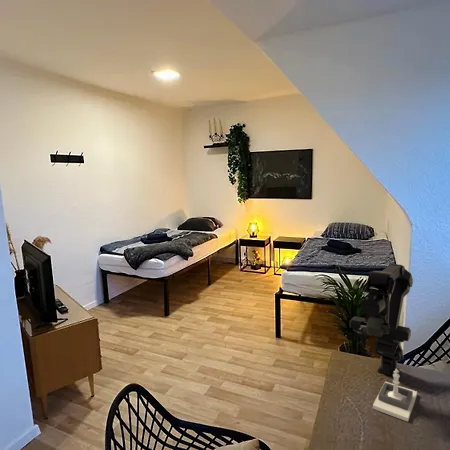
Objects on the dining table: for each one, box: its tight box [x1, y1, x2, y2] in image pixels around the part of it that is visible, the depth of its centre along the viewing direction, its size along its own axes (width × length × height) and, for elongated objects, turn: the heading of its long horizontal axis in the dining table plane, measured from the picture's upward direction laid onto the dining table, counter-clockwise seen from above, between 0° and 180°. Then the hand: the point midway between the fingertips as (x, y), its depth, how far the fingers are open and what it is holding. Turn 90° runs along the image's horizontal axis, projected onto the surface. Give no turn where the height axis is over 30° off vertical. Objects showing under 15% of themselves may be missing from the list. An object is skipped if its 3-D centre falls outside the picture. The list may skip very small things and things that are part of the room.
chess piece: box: [387, 369, 404, 401], centre depth 107 cm, size 5×5×10 cm
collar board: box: [372, 381, 418, 422], centre depth 107 cm, size 16×10×3 cm, turn 141°
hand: (378, 351), depth 114 cm, fingers open, 9 cm apart
